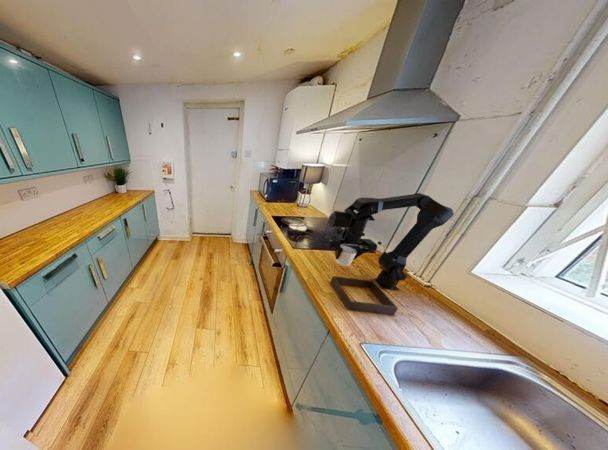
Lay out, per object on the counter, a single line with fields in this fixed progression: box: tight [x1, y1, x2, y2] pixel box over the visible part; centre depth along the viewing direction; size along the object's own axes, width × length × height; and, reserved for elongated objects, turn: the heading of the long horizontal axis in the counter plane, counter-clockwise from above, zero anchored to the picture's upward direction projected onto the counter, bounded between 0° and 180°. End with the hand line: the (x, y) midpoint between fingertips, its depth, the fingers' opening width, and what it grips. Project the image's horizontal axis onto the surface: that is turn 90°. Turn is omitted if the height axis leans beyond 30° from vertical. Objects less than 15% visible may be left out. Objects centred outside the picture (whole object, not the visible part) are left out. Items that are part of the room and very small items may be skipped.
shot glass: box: [335, 245, 357, 267], centre depth 88 cm, size 7×7×7 cm
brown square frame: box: [329, 275, 399, 317], centre depth 82 cm, size 17×16×4 cm
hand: (344, 259), depth 89 cm, fingers closed on shot glass, 6 cm apart
